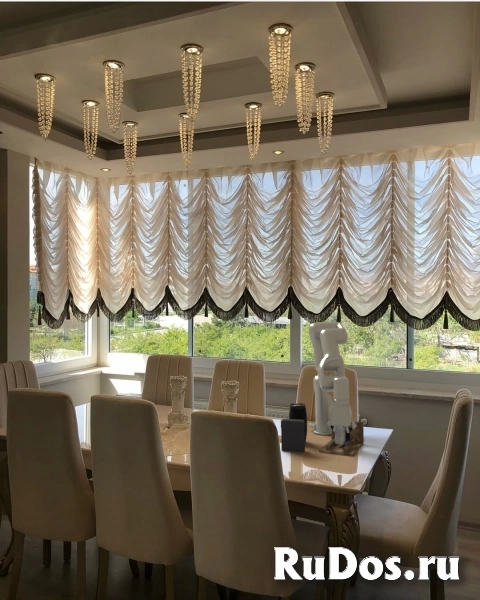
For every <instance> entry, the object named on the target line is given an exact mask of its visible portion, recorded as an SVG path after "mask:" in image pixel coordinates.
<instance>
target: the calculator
mask: <svg viewBox="0 0 480 600" xmlns="http://www.w3.org/2000/svg"><path fill="white" fill-rule="evenodd" d="M280 431H281V432H280V433H281V434H280V435H281V437H280V438H281V439H280V443H281V445H280V447H281V452H288V453H289V452H290V453H292V452H293V453H302V454H303V453H304V452H306V443H305V421H304V420H296V419H289V418H282V419H281V420H280Z"/></svg>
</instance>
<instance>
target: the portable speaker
mask: <svg viewBox="0 0 480 600" xmlns="http://www.w3.org/2000/svg"><path fill="white" fill-rule="evenodd" d="M306 406H307V405H306V403H304V402H298V403H290V405H289V410H288V411H289V413H288V419H296V420H304V421H305V444H306V443H307V436H308V415H307V414H308V413H307V407H306Z"/></svg>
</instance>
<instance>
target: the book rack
mask: <svg viewBox="0 0 480 600" xmlns="http://www.w3.org/2000/svg"><path fill="white" fill-rule="evenodd" d="M353 421H354V422H355V424H356V425H357V427H355V428H354V429H353V430H351V431H350V439H349V441H348V442H347V443H345V444H344V445H342V444H335V438H334V431H333V430H332V434H331V439H330V440H329V441H328V442H327V443H326V444H324V445H323V446H322V447H321V448H319V450H318V453H322V454H323V453H325V454H331V455H340V456H348V457H353V456H354V455H355V454H357V452H358V451H359V450H361V448H362V447H363V445H364V444H365V437H364V434H365V432H364V421H357V420H353ZM352 426H353V425H351V426H350V428H351V427H352Z"/></svg>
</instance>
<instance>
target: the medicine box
mask: <svg viewBox="0 0 480 600" xmlns="http://www.w3.org/2000/svg"><path fill="white" fill-rule="evenodd" d="M346 433H347V431H346V427H344V426H335V444H342V445H344V444H345V443H347V442H348V441H349V440H348V441H346Z"/></svg>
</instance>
